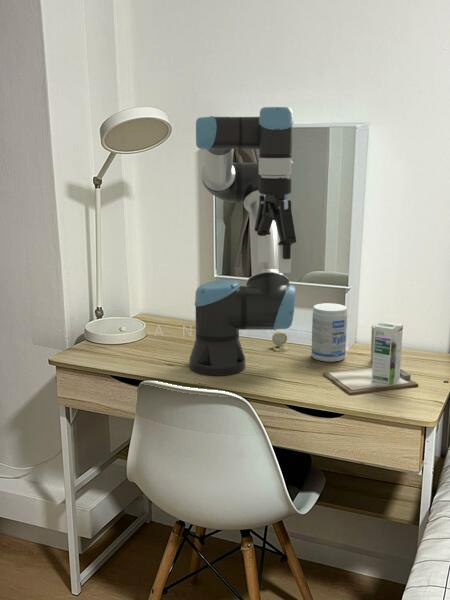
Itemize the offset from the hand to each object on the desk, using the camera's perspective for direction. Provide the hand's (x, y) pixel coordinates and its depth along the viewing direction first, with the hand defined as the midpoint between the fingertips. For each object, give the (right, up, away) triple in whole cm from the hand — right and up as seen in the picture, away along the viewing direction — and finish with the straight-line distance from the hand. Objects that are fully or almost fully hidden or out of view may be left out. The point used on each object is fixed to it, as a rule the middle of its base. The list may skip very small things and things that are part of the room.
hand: (273, 267), depth 166 cm
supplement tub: (+17, -24, +31) cm, 43 cm away
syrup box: (+29, -28, +11) cm, 42 cm away
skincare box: (+31, -25, +27) cm, 48 cm away
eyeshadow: (+5, -22, +38) cm, 45 cm away
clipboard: (+25, -28, +13) cm, 40 cm away
